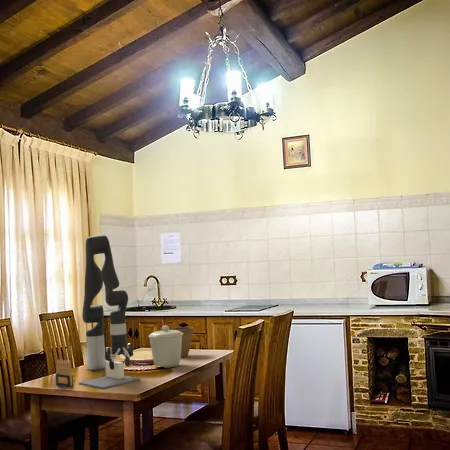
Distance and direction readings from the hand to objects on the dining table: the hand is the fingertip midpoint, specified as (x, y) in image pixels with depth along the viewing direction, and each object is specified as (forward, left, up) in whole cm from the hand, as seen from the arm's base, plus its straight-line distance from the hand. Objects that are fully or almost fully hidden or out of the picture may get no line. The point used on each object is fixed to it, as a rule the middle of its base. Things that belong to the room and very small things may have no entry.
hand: (119, 367), depth 258 cm
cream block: (+1, 0, -1) cm, 2 cm away
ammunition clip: (-13, -21, -6) cm, 26 cm away
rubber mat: (0, -6, -5) cm, 8 cm away
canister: (-5, +33, -6) cm, 34 cm away
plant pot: (-21, +57, -6) cm, 61 cm away
